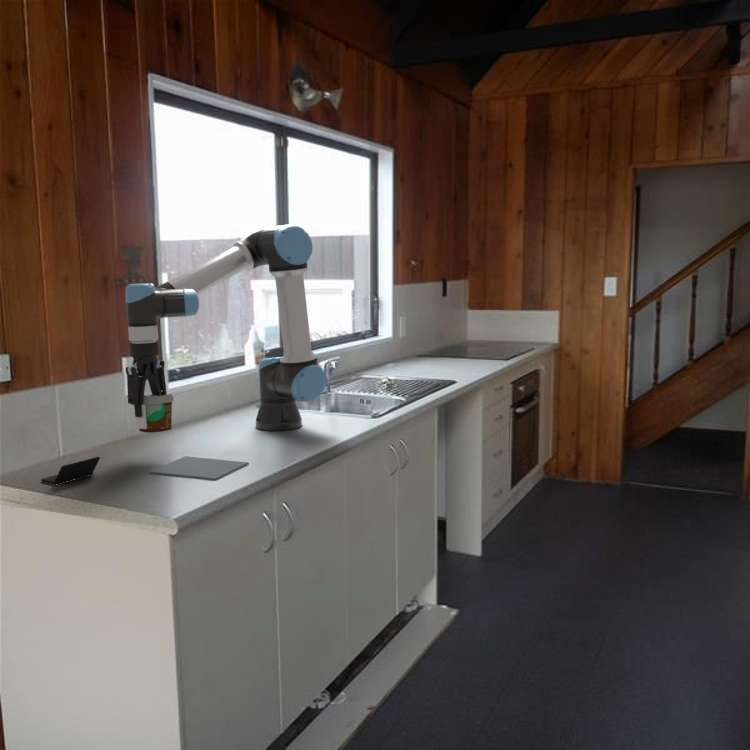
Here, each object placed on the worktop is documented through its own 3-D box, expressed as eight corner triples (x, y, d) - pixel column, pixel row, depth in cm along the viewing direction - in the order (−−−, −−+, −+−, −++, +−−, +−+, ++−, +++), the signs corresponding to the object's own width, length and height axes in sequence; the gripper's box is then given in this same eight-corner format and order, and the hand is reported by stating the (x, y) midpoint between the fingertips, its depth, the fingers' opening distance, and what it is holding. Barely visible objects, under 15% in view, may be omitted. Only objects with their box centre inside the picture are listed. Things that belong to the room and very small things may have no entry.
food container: (124, 431, 202) (121, 395, 201) (139, 426, 208) (136, 391, 206) (161, 434, 198) (159, 397, 196) (175, 429, 203) (173, 393, 202)
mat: (185, 458, 206) (185, 456, 206) (248, 464, 199) (248, 462, 199) (148, 473, 191) (148, 471, 191) (215, 480, 184) (215, 478, 184)
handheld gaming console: (71, 465, 193) (84, 439, 189) (91, 483, 192) (104, 457, 188) (36, 483, 183) (49, 456, 179) (57, 502, 182) (70, 475, 178)
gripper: (154, 337, 209) (160, 417, 213) (108, 345, 192) (115, 432, 195) (176, 337, 207) (182, 419, 210) (131, 346, 189) (138, 434, 193)
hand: (149, 425), depth 203 cm, fingers closed on food container, 6 cm apart
